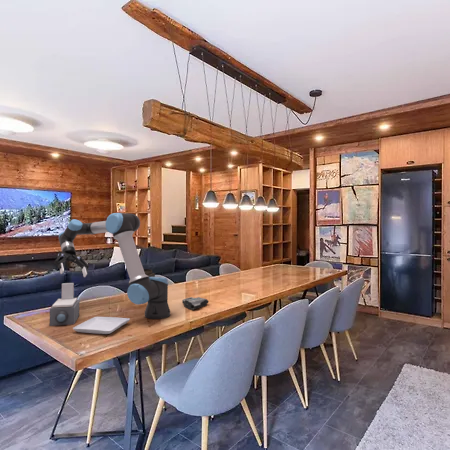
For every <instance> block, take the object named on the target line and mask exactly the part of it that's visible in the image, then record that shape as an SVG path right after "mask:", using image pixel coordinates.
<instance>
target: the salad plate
mask: <svg viewBox="0 0 450 450" xmlns="http://www.w3.org/2000/svg"><path fill="white" fill-rule="evenodd" d="M130 320H131V318H127V317H116V316H94V317H92V318H89V319H88V320H85V321H83V322H81V323H80V324H77V325H76V326H74V327H72V329H73V331H75V332H78V333H83V334H84V333H87V334H97V335H108V334H112V333H113V332H115V331H117V330H118V329H119V328H122V327H123V326H125V325H126V324H127V323H128V322H130Z"/></svg>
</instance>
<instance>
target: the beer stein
mask: <svg viewBox="0 0 450 450" xmlns="http://www.w3.org/2000/svg"><path fill="white" fill-rule="evenodd" d="M143 269H144V272H145V274H146V275H147V276H149V277H156V273H154V272H153V270H152V269H149V268H143Z"/></svg>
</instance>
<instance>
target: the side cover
mask: <svg viewBox="0 0 450 450" xmlns="http://www.w3.org/2000/svg"><path fill="white" fill-rule="evenodd" d="M74 285H75V283H74V282H65V283H61V298H57V300H56V301H55V302H54V303H53V304H52V306H51V307H70V306H73V305H74V304H75V302H76V301H77V300H78V297H75V296H74V288H75V286H74Z"/></svg>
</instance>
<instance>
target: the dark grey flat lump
mask: <svg viewBox="0 0 450 450" xmlns="http://www.w3.org/2000/svg"><path fill="white" fill-rule="evenodd" d="M181 303H182V304H183V306H184V308H187V309H188V310H191V311H194V310H195V309H199V308H202V307H205V306H207V305H208V304H209V300H208V299H206V298H203V297H200V296H198V297H193V296H191V297H190V296H189V297H186V298H183V299H182V301H181Z"/></svg>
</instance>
